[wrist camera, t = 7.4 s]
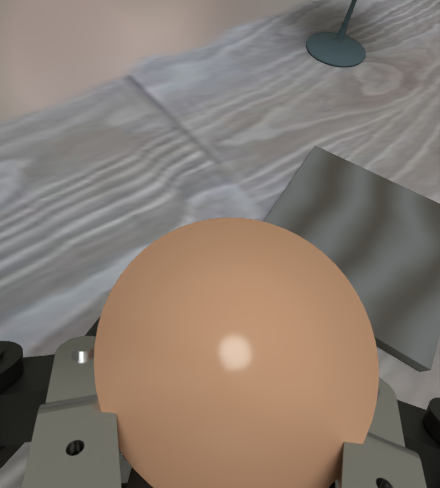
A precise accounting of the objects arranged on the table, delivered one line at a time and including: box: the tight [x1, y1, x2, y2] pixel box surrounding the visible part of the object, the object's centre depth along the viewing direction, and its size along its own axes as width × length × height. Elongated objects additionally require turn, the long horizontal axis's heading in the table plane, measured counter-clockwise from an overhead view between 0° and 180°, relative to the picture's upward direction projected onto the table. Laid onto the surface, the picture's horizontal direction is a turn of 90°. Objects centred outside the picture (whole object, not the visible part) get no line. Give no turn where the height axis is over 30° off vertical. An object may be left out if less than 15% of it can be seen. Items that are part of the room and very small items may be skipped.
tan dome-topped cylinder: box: [94, 218, 379, 488], centre depth 11 cm, size 6×6×11 cm
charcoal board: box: [264, 146, 440, 372], centre depth 34 cm, size 20×20×2 cm
